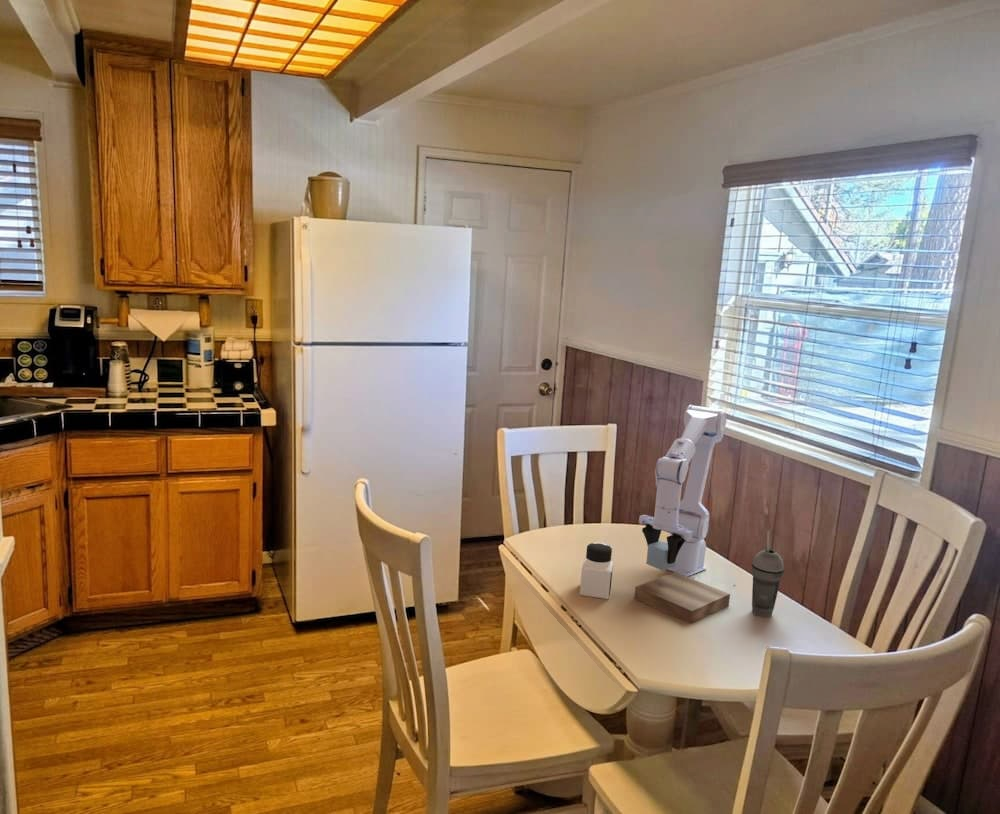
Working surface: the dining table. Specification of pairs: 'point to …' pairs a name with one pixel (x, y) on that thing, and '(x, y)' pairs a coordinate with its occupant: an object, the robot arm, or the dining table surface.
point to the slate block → (658, 556)
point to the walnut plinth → (682, 597)
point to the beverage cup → (766, 581)
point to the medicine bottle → (597, 571)
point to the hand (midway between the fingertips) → (661, 559)
